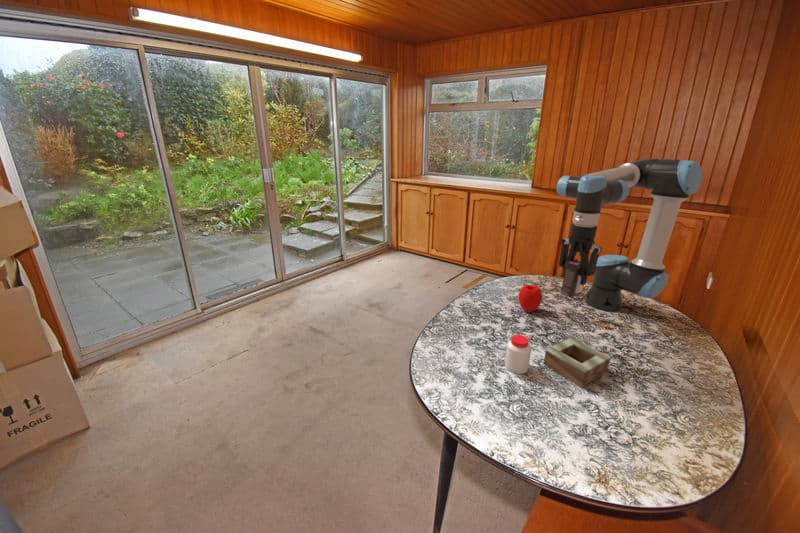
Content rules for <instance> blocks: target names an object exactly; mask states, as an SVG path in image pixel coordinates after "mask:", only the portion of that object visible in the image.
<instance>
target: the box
mask: <svg viewBox="0 0 800 533" xmlns="http://www.w3.org/2000/svg"><path fill="white" fill-rule="evenodd" d="M578 275H581V259H578V258H577V259H574V260H571V261H569V262H567V263H566V269H565V274H564V278H562V285H561V290H560V294H561V295H563V296H565V297H567V298H574V297H577V296H579V295H582V292H581V293H578V294H576V293H575V290H576V285H577V280H578Z"/></svg>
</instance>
